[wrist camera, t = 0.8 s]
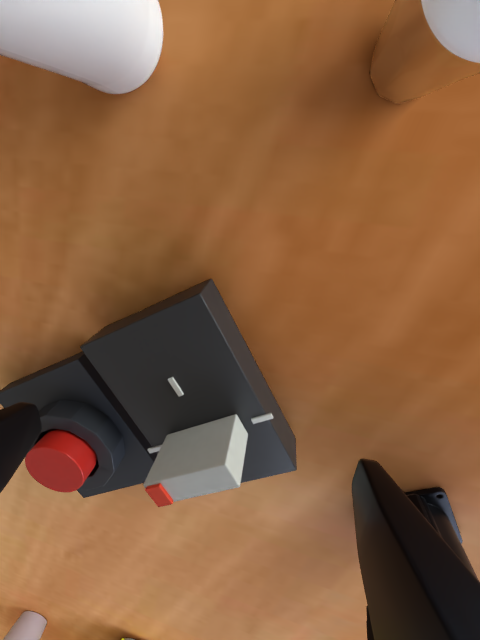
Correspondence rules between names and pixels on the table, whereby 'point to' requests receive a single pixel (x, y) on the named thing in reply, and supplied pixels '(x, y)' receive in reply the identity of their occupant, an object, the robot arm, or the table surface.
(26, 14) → the drinking glass
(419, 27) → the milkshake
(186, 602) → the table surface
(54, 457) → the power button
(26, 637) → the smoothie
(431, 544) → the robot arm
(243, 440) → the grey block red tip
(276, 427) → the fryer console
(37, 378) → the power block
